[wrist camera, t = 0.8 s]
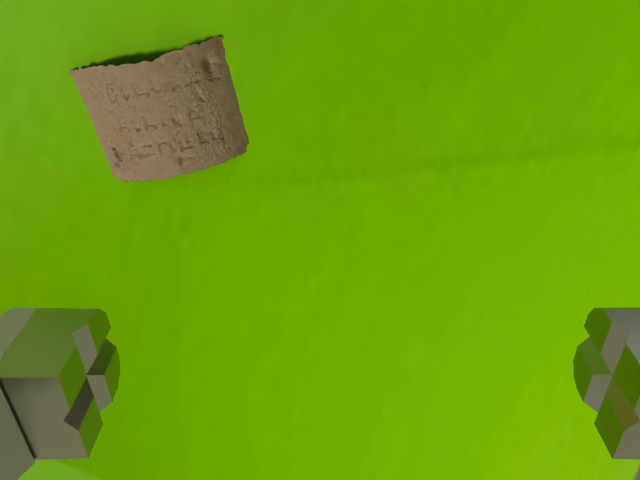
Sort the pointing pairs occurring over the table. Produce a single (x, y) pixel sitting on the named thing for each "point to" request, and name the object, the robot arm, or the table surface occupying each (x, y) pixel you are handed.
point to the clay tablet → (165, 112)
